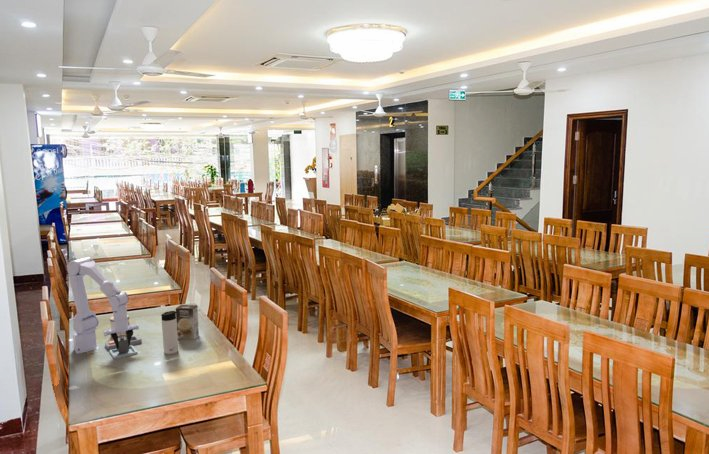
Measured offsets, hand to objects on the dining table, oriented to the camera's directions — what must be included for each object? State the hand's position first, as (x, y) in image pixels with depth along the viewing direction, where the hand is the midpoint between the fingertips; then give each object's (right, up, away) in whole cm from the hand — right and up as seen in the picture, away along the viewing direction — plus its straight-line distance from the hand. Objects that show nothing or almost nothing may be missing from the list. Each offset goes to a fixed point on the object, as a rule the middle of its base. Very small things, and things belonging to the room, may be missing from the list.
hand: (122, 347), depth 232 cm
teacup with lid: (-14, 0, +28) cm, 32 cm away
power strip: (-5, -2, +11) cm, 12 cm away
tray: (0, -3, 0) cm, 3 cm away
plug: (0, -2, 0) cm, 2 cm away
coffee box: (+23, 0, +21) cm, 31 cm away
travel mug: (+22, -3, +1) cm, 23 cm away
